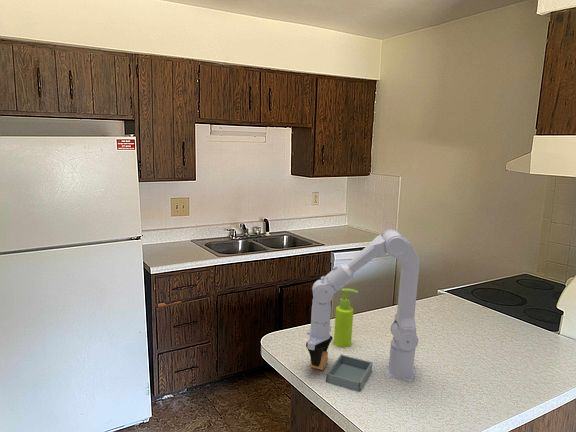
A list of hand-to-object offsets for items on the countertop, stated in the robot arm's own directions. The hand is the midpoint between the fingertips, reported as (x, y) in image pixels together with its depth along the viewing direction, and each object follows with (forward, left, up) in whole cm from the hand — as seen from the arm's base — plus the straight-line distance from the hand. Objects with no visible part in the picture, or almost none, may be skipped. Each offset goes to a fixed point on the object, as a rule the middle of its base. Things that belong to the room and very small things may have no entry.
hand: (318, 362), depth 131 cm
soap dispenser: (-19, +2, -2) cm, 19 cm away
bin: (0, +10, -2) cm, 10 cm away
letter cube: (0, 0, -1) cm, 1 cm away
